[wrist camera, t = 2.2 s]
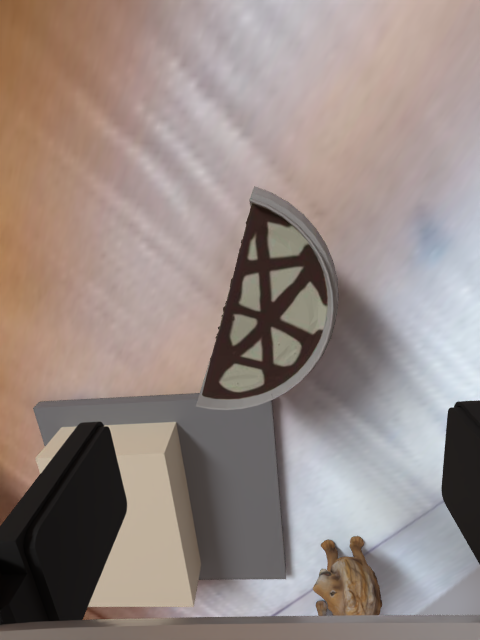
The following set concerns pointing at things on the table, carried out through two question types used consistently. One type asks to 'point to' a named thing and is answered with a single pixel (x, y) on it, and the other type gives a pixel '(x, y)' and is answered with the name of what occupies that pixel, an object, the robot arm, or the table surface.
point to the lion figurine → (347, 583)
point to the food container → (272, 309)
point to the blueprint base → (210, 474)
